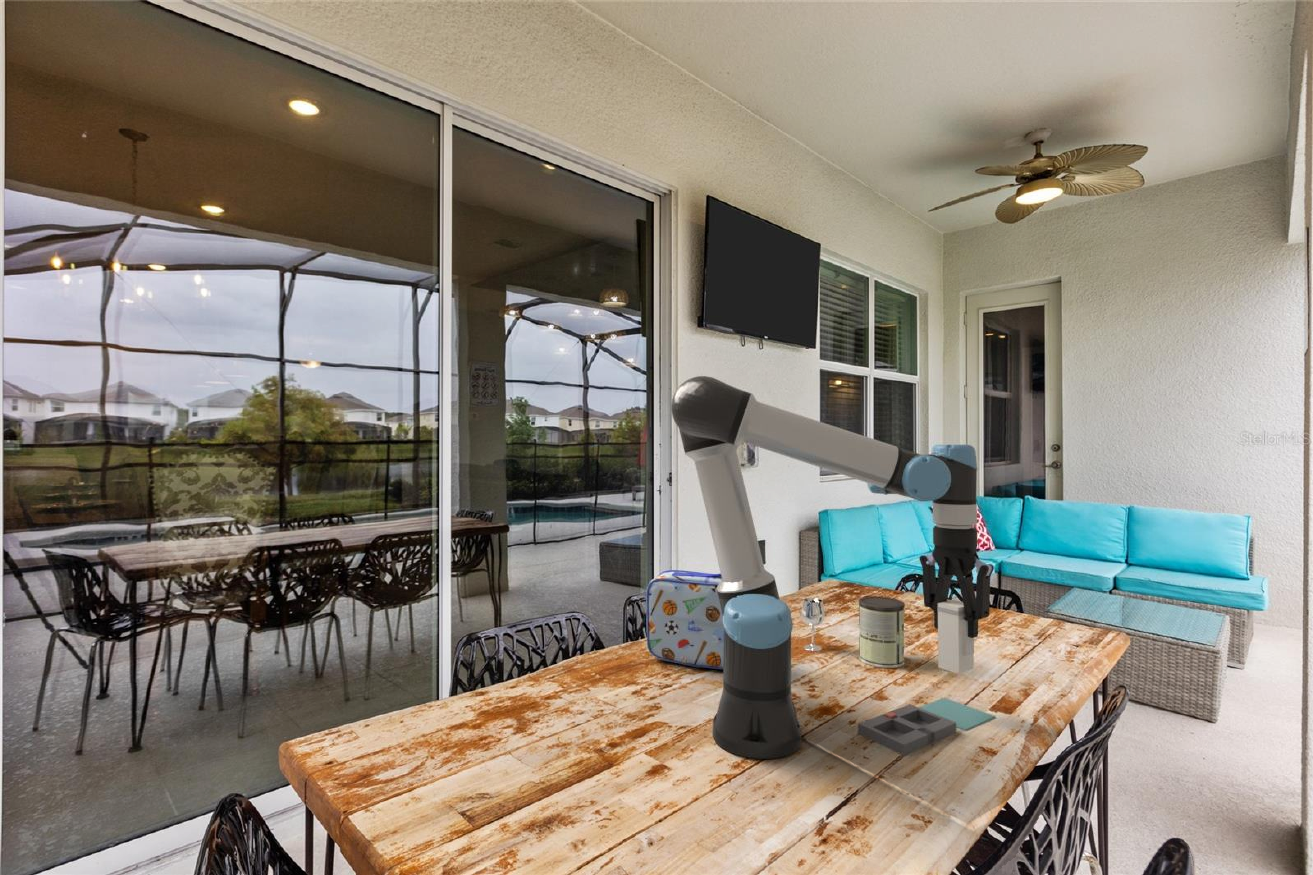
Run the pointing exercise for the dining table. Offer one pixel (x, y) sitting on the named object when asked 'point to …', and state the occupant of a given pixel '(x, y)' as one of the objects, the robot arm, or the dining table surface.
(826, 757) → the dining table surface
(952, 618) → the block
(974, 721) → the pad
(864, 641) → the coffee can
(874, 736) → the power strip
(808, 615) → the wineglass
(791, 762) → the dining table surface
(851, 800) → the dining table surface
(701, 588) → the lunch box
